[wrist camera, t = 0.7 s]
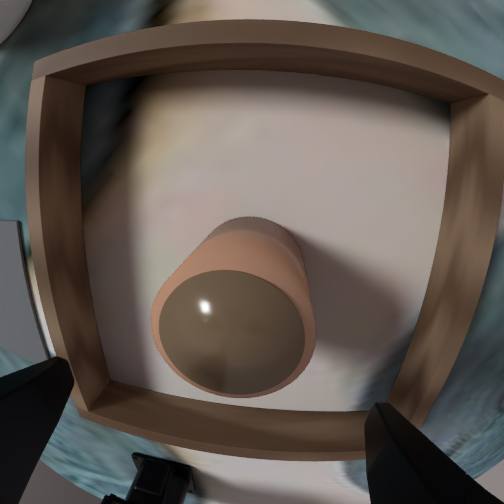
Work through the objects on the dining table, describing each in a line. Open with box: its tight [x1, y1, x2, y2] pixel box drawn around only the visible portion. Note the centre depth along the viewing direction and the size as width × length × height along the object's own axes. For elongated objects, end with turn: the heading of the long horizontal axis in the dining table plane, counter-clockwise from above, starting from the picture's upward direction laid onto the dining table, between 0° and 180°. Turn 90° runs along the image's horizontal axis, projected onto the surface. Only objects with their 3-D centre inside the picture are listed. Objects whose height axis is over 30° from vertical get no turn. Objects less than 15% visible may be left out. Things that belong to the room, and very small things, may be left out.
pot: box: [151, 217, 316, 398], centre depth 13 cm, size 6×6×7 cm
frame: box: [25, 19, 504, 461], centre depth 15 cm, size 24×24×4 cm
